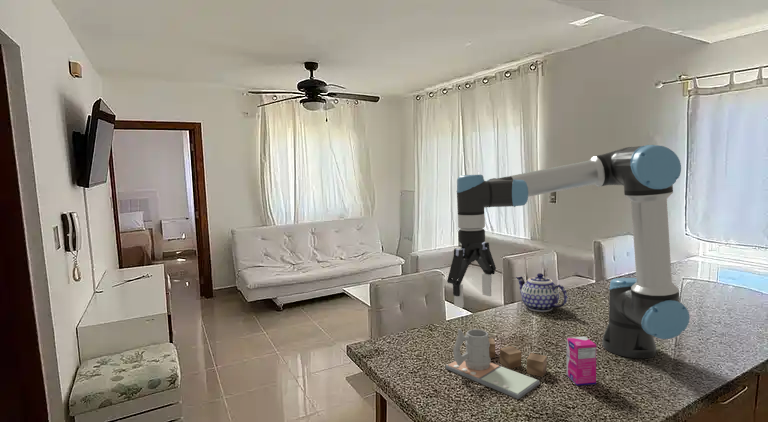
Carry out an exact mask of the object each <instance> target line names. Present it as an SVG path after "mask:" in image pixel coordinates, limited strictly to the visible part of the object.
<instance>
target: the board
mask: <svg viewBox="0 0 768 422" xmlns="http://www.w3.org/2000/svg"><path fill="white" fill-rule="evenodd" d="M445 369H446V370H447V371H451V372H452V373H455V374H458V375H460V376H462V377H464V378H467V379H469V380H471V381H474V382H476V383H478V384H481V385H484V386H486V387H488V388H492V389H493V390H495V391H498V392H500V393H503V394H505V395H507V396H509V397H512V398H514V399H516V400H519V399H521V398H522V397H524V396H525V395H526V394H528V393H529V392H531V391H532V390H533V389H535V388H536V387H538V386H539V385H540V380H539V379H536V378H534V377H531V376H528V375H525V374H523V373H520V372H517V371H515V370H512V369H509V368H507V367H505V366H503V365H502V366H501V365H499V364H496V363H494V362H491V363H490V367H489V368H488V369H486V370H484V369H483V370H472V369H470V368H468V367H467V366H466V362H465V361H463V363H462V364H461V365H460V366H459V365H457V362H456V361H455V360H453V361H452V362H449V363H448V364H446V365H445Z"/></svg>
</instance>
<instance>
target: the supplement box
mask: <svg viewBox="0 0 768 422" xmlns="http://www.w3.org/2000/svg"><path fill="white" fill-rule="evenodd" d="M566 376H567V377H568V378H569V380H571V381H572V382H573V384H575V385H576V386H577V387H578V386H585V385H586V386H591V385H597V344H596V342H594V341H592V340H591V339H590V338H588V337H586V336H576V337H573V336H572V337H566Z"/></svg>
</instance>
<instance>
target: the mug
mask: <svg viewBox="0 0 768 422" xmlns="http://www.w3.org/2000/svg"><path fill="white" fill-rule="evenodd" d="M465 334H466V335H465ZM465 334H464V332H463V331H462V329H460V328H457V336H456V339H455V340H456V341H455V343H454V345H453V349H452V352H453V359H454V361H456V362H457V365H459V366H460V365H461V364H462V363H463V361H465V362H466V366H467V367H468V368H470V369H472V370H483V369H484V370H486V369H488V368H489V367H490V363H492V362H491V361H492V360H491V357H489V347H490V342H489V337H490V336H489V332H487V330H485V329H479V328H478V329H477V328H474V329H469V330H467V332H466V333H465ZM464 341H465V342H464ZM463 343H464V344H465V353H463V354H461V346H462V345H463Z"/></svg>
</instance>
